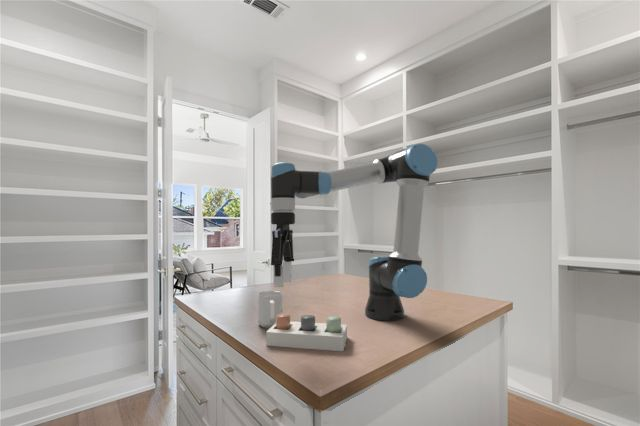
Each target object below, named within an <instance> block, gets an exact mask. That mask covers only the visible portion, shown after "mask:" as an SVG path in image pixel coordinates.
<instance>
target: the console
mask: <svg viewBox="0 0 640 426" xmlns="http://www.w3.org/2000/svg"><path fill="white" fill-rule="evenodd" d="M265 335H266V336H265V338H266V339H265V340H266V342H265V343H266V344H265V346H268V347H277V348H278V347H280V348H293V349H294V348H295V349H306V350H307V349H308V350H321V351H333V352H334V351H335V352H344V349H345V346H346V343H347V339H348V324H344V323H341V333H329V332H326V322H315V331H314V332H313V331H301V321H291V320H290V329H289V330H281V329H276V323H275V324H274V325H273V326H272V327H271V328H268V330H266V332H265Z"/></svg>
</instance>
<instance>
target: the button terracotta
mask: <svg viewBox="0 0 640 426" xmlns="http://www.w3.org/2000/svg"><path fill="white" fill-rule="evenodd" d="M290 321H291V314H289V313H283V314H278V315H276V329H281V330H289V329H290Z"/></svg>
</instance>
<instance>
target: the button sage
mask: <svg viewBox="0 0 640 426" xmlns="http://www.w3.org/2000/svg"><path fill="white" fill-rule="evenodd" d="M325 319H326V320H325V321H326V322H325V323H326V332H329V333H341V324H342V318H341V317H340V316H337V315H336V316H335V315H333V316H327V317H326V318H325Z"/></svg>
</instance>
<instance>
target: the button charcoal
mask: <svg viewBox="0 0 640 426" xmlns="http://www.w3.org/2000/svg"><path fill="white" fill-rule="evenodd" d="M300 322H301V331H313V332H314V331H315V323H316V316H315V315H312V314H304V315H301V316H300Z"/></svg>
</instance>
